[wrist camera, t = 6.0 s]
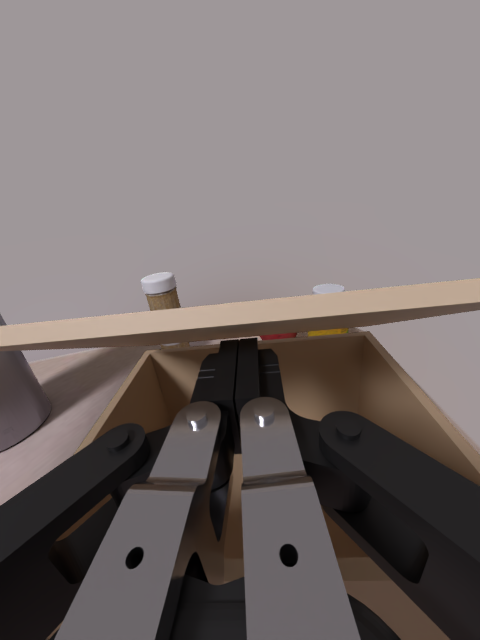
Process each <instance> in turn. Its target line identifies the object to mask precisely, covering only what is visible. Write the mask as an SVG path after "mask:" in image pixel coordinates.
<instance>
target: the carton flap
mask: <svg viewBox="0 0 480 640" xmlns="http://www.w3.org/2000/svg"><path fill="white" fill-rule="evenodd" d="M476 310H480V278H477V279H467V280H456V281H446V282H436V283H426V284H416V285H406V286H396V287H386V288H376V289H366V290H356V291H347V292H336V293H326V294H316V295H306V296H296V297H286V298H276V299H266V300H257V301H246V302H236V303H226V304H216V305H206V306H196V307H186V308H176V309H166V310H156V311H146V312H136V313H126V314H116V315H106V316H96V317H86V318H76V319H66V320H56V321H46V322H36V323H26V324H17V325H5V326H0V351H20V350H46V349H70V348H71V349H72V348H98V347H124V346H148V345H160V344H171V343H182V342H194V341H205V340H216V339H228V338H239V337H251V336H262V335H273V334H285V333H296V332H308V331H319V330H330V329H342V328H353V327H364V326H372V325H379V324H386V323H393V322H400V321H407V320H414V319H420V318H427V317H434V316H441V315H447V314H455V313H461V312H469V311H476Z"/></svg>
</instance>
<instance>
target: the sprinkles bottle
mask: <svg viewBox="0 0 480 640" xmlns="http://www.w3.org/2000/svg"><path fill="white" fill-rule="evenodd" d="M141 284H142V288H143V291H144V293H146V294H145V295H146V296H147V300H148V303H149V307H150V311H156V310H166V309H176V308H181V306H180V303H179V299H178V295H177V291H176V281H175V278H174V275H173V273H170V272H162V273H156V274H152V275H148V276H146V277H144V278H142V280H141ZM160 345H161V349H169V348H181V347H190V346H189V342H182V343H171V344H160Z"/></svg>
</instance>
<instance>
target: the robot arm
mask: <svg viewBox="0 0 480 640" xmlns="http://www.w3.org/2000/svg"><path fill="white" fill-rule="evenodd" d="M5 325H6V323H5V321H4V320H3V318H2V316H1V314H0V326H5ZM50 411H51V404H50V402H49V400H48V398H47V396H46V395H45V393H44V391H43V389H42V387H41V386H40V384H39V382H38V380H37V378H36V377H35V375H34V373H33V371H32V369H31V368H30V366H29V364H28V362H27V361H26V359H25V357H24V355H23V353H22V352H21V350H20V351H0V451H3V450H5V449H7V448H9V447H11V446H12V445H14V444H16V443H18V442H19V441H21V440H22V439H24V438H25V437H27V436H28V435H29V434H31V433H32V432H33V431H35V430H36V429H37V428H38V427H39V426H40V425H41V424H42V423H43V422H44V421H45V419H46V418H47V417H48V415H49V413H50ZM234 454H242V468H243V483H242V484H241V503H242V528H243V553H244V577H242V578H239V579H236V580H233V581H231V582H228V583H225V584H224V544H225V537H226V530H227V522H228V515H229V508H230V500H231V493H232V486H233V462H234ZM109 494H110V495H111V496H112V498H111V499H110V500H109V501H108V502H107V503H105V504H104V505H103V506H102V507H101V508H100V509H99V510H97V511H96V512H95V513H94V514H93V515H92V516H91V517H90V518H88V519H87V520H86V521H85V522H84V523H83V524H82V525H80V526H79V527H78V528H77V529H76V530H75V531H74V532H72V533H71V534H70V535H69V536H67V537H66V538H64V539H62V540H60V541H56V540H57V539H58V538H59V537H60V536H61V535H62V534H63V533H64V532H65V531H67V530H68V529H69V528H70V527H71V526H72V525H74V524H75V523H76V522H77V521H78V520H79V519H81V518H82V517H83V516H84V515H85V514H86V513H88V512H89V511H90V510H91V509H92V508H93V507H95V506H96V505H97V504H98V503H99V502H100V501H102V500H103V499H104V498H105V497H106V496H107V495H109ZM320 504H321V505H320ZM321 506H322V508H323V510H324V511H325V512H326V513H327V515H328V516H329V517H330V518H331V519H332V520H333V521H334V522H335V523H336V524H337V525H338V526H339V527H340V528H341V529H342V530H343V531H344V532H345V533H346V534H347V535H348V536H349V537H350V538H351V539H352V540H353V541H354V542H355V543H356V544H357V545H358V546H359V547H360V548H361V549H362V550H363V551H364V552H365V553H366V554H367V555H368V556H369V557H370V558H371V559H372V560H373V561H374V562H375V563H376V564H377V565H378V567H379V568H380V569H381V570H382V571H383V572H384V573H385V574H386V575H387V576H388V577H389V578H390V579H391V580H392V581H393V582H394V583H395V584H396V585H397V586H398V587H399V588H400V589H401V590H402V591H403V592H404V593H405V594H406V595H407V596H408V597H409V598H410V599H411V600H412V601H413V602H414V603H415V604H416V605H417V606H418V607H419V608H420V609H421V610H422V611H423V612H424V613H425V614H426V615H427V616H428V617H429V618H430V619H431V620H432V621H433V622H434V623H435V624H436V625H437V626H438V627H439V628H440V629H441V631H442V632H443V633H444V634H445V635H446V636H447V637H448V638H449V639H450V640H480V486H479V485H477V484H475V483H474V482H472V481H470V480H469V479H467V478H465V477H463V476H462V475H460V474H458V473H457V472H455V471H453V470H452V469H450V468H448V467H447V466H445V465H443V464H442V463H440V462H438V461H437V460H435V459H433V458H432V457H430V456H428V455H427V454H425V453H423V452H422V451H420V450H418V449H417V448H415V447H413V446H411V445H410V444H408V443H406V442H405V441H403V440H401V439H400V438H398V437H396V436H395V435H393V434H391V433H390V432H388V431H386V430H385V429H383V428H381V427H380V426H378V425H376V424H375V423H373V422H371V421H370V420H368V419H366V418H365V417H363V416H361V415H359V414H356V413H353V412H349V411H335V412H331V413H329V414H327V415H325V416H324V417H323V418H322V420H321V421H317V420H312V419H307V418H304V417H301V416H299V415H297V414H295V413H294V412H292V411H291V410H290V409H289V407H288V406H287V404H286V402H285V397H284V392H283V386H282V380H281V374H280V368H279V362H278V356H277V354H276V353H275V352H274V351H273V350H272V349H259V350H258V341H257V338H248V339H240V340H238V339H237V340H226V341H221V342H220V347H219V352H218V353H212V354H209V355H208V356H207V357H206V358H205V359H204V360H203V361H202V363H201V367H200V372H199V374H198V379H197V380H196V384H195V387H194V390H193V394H192V397H191V401H190V404H189V405H187V406H185V407H184V408H183V409H181V410H180V411H179V412H178V414H177V415H176V417H175V419H174V421H173V423H172V424H171V425H169V426H167V427H165V428H162V429H159V430H156V431H152V432H149V433H145V431H144V428H143V427H142V426H140V425H139V424H136V423H127V424H122V425H119V426H117V427H115V428H113V429H111V430H109V431H108V432H106V433H105V434H103V435H102V436H100V437H99V438H98V439H96V440H95V441H93V442H92V443H90V444H89V445H87V446H86V447H85V448H83V449H82V450H80V451H79V452H77V453H76V454H74V455H73V456H72V457H70V458H69V459H67V460H66V461H64V462H63V463H62V464H60V465H59V466H57V467H56V468H54V469H53V470H51V471H50V472H49V473H47V474H46V475H44V476H43V477H41V478H40V479H38V480H37V481H36V482H34V483H33V484H31V485H30V486H28V487H27V488H25V489H24V490H23V491H21V492H20V493H18V494H17V495H15V496H14V497H12V498H11V499H10V500H8V501H7V502H5V503H4V504H2V505H1V506H0V640H46V639H47V637H48V636H49V635H50V634H51V633H52V632H53V631H54V630H55V629H56V628H57V627H58V626H59V625H60V624H61V623H62V621H63V623H62V625H61V627H60V628H59V629H58V630H57V631H56V632H55V633H54V634H53V636H52V637H51V638H50V639H49V640H401V639H400V638H399V637H398V635H397V634H396V633H395V632H394V631H393V630H392V629H391V628H390V627H389V626H388V625H387V624H386V623H385V622H384V621H383V620H382V619H381V618H380V617H379V616H378V615H377V614H375V613H374V612H373V611H372V610H371V609H369V608H368V607H367V606H366V605H365V604H363V603H362V602H360V601H359V600H357V599H356V598H354V597H353V596H351V595H349V594H348V593H347V592H346V589H345V586H344V582H343V579H342V576H341V572H340V569H339V566H338V562H337V559H336V556H335V552H334V549H333V546H332V542H331V539H330V535H329V532H328V529H327V525H326V522H325V519H324V515H323V512H322V509H321Z"/></svg>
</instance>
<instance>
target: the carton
mask: <svg viewBox="0 0 480 640" xmlns="http://www.w3.org/2000/svg"><path fill="white" fill-rule="evenodd" d="M219 347H220V344H216V345H204V346H193V347H181V348H169V349H158V350H146V351H145V352H144V354H143V355H142V357H141V358H140V360H139V361H138V363H137V364H136V365H135V367H134V368H133V370H132V371H131V373H130V374H129V375H128V377H127V378H126V380H125V381H124V383H123V384H122V386H121V387H120V388H119V390H118V391H117V393H116V394H115V396H114V397H113V399H112V400H111V401H110V403H109V404H108V406H107V407H106V409H105V410H104V412H103V413H102V414H101V416H100V417H99V419H98V420H97V422H96V423H95V425H94V426H93V427H92V429H91V430H90V432H89V433H88V435H87V436H86V437H85V439H84V440H83V442H82V443H81V445H80V446H79V448H78V449H77V450H76V452H75V453H74V454H76V453H77V452H79V451H80V450H82V449H83V448H85V447H86V446H87V445H89V444H90V443H92V442H93V441H95V440H96V439H98V438H99V437H100V436H102V435H103V434H105V433H106V432H108V431H109V430H111V429H113V428H115V427H117V426H119V425H122V424H127V423H136V424H139V425H140V426H142V427H143V428H144V431H145V433H149V432H152V431H156V430H159V429H162V428H165V427H167V426H169V425H171V424H172V423H173V421H174V419H175V417H176V415H177V414H178V412H179V411H180V410H181V409H183V408H184V407H185V406H187V405H189V404H190V401H191V397H192V394H193V390H194V387H195V384H196V380H197V379H198V374H199V372H200V367H201V363H202V361H203V360H204V359H205V358H206V357H207V356H208V355H209V354H212V353H218V352H219ZM259 349H272V350H273V351H274V352H275V353H276V354H277V356H278V362H279V368H280V374H281V380H282V386H283V392H284V397H285V402H286V404H287V406H288V407H289V409H290V410H291V411H292V412H294V413H295V414H297V415H299V416H301V417H304V418H307V419H312V420H317V421H321V420H322V418H323V417H324V416H325V415H327V414H329V413H331V412H335V411H349V412H353V413H356V414H359V415H361V416H363V417H365V418H366V419H368V420H370V421H371V422H373V423H375V424H376V425H378V426H380V427H381V428H383V429H385V430H386V431H388V432H390V433H391V434H393V435H395V436H396V437H398V438H400V439H401V440H403V441H405V442H406V443H408V444H410V445H411V446H413V447H415V448H417V449H418V450H420V451H422V452H423V453H425V454H427V455H428V456H430V457H432V458H433V459H435V460H437V461H438V462H440V463H442V464H443V465H445V466H447V467H448V468H450V469H452V470H453V471H455V472H457V473H458V474H460V475H462V476H463V477H465V478H467V479H469V480H470V481H472V482H474V483H475V484H477V485H479V486H480V455H479V454H478V453H477V452H476V451H475V450H474V449H473V447H472V446H471V445H470V444H469V443H468V442H467V441H466V440H465V438H464V437H463V436H462V435H461V434H460V433H459V432H458V431H457V429H456V428H455V427H454V426H453V425H452V424H451V423H450V422H449V420H448V419H447V418H446V417H445V416H444V415H443V414H442V413H441V411H440V410H439V409H438V408H437V407H436V406H435V405H434V404H433V402H432V401H431V400H430V399H429V398H428V397H427V396H426V395H425V393H424V392H423V391H422V390H421V389H420V388H419V387H418V386H417V384H416V383H415V382H414V381H413V380H412V379H411V378H410V377H409V375H408V374H407V373H406V372H405V371H404V370H403V369H402V368H401V366H400V365H399V364H398V363H397V362H396V361H395V360H394V359H393V357H392V356H391V355H390V354H389V353H388V352H387V351H386V350H385V348H384V347H383V346H382V345H381V344H380V343H379V342H378V341H377V339H376V338H375V337H374V336H373V335H372V334H371V333H370V332H369V331H367V332H355V333H343V334H332V335H320V336H309V337H297V338H285V339H274V340H262V341H258V350H259ZM242 483H243V468H242V454H234V462H233V486H232V493H231V500H230V508H229V515H228V522H227V530H226V537H225V544H224V584H225V583H228V582H231V581H233V580H236V579H239V578H242V577H244V553H243V528H242V503H241V484H242ZM111 498H112V496H111V495H110V494H109V495H107V496H106V497H105V498H104V499H103V500H102V501H100V502H99V503H98V504H97V505H96V506H95V507H93V508H92V509H91V510H90V511H89V512H88V513H86V514H85V515H84V516H83V517H82V518H81V519H79V520H78V521H77V522H76V523H75V524H74V525H72V526H71V527H70V528H69V529H68V530H67V531H65V532H64V533H63V534H62V535H61V536H60V537H59V538H58V539H57V540H56V541H60V540H62V539H64V538H66V537H67V536H69V535H70V534H71V533H72V532H74V531H75V530H76V529H77V528H78V527H79V526H80V525H82V524H83V523H84V522H85V521H86V520H87V519H88V518H90V517H91V516H92V515H93V514H94V513H95V512H96V511H97V510H99V509H100V508H101V507H102V506H103V505H104V504H105V503H107V502H108V501H109V500H110V499H111ZM320 505H321V504H320ZM321 509H322V512H323V515H324V519H325V522H326V525H327V529H328V532H329V535H330V539H331V542H332V546H333V549H334V552H335V556H336V559H337V562H338V566H339V569H340V572H341V576H342V579H343V582H344V586H345V589H346V592H347V593H348V594H349V595H351V596H353V597H354V598H356V599H357V600H359V601H360V602H362V603H363V604H365V605H366V606H367V607H368V608H369V609H371V610H372V611H373V612H374V613H375V614H377V615H378V616H379V617H380V618H381V619H382V620H383V621H384V622H385V623H386V624H387V625H388V626H389V627H390V628H391V629H392V630H393V631H394V632H395V633H396V634H397V635H398V637H399V638H400V639H401V640H450V639H449V638H448V637H447V636H446V635H445V634H444V633H443V632H442V631H441V629H440V628H439V627H438V626H437V625H436V624H435V623H434V622H433V621H432V620H431V619H430V618H429V617H428V616H427V615H426V614H425V613H424V612H423V611H422V610H421V609H420V608H419V607H418V606H417V605H416V604H415V603H414V602H413V601H412V600H411V599H410V598H409V597H408V596H407V595H406V594H405V593H404V592H403V591H402V590H401V589H400V588H399V587H398V586H397V585H396V584H395V583H394V582H393V581H392V580H391V579H390V578H389V577H388V576H387V575H386V574H385V573H384V572H383V571H382V570H381V569H380V568H379V567H378V565H377V564H376V563H375V562H374V561H373V560H372V559H371V558H370V557H369V556H368V555H367V554H366V553H365V552H364V551H363V550H362V549H361V548H360V547H359V546H358V545H357V544H356V543H355V542H354V541H353V540H352V539H351V538H350V537H349V536H348V535H347V534H346V533H345V532H344V531H343V530H342V529H341V528H340V527H339V526H338V525H337V524H336V523H335V522H334V521H333V520H332V519H331V518H330V517H329V516H328V515H327V513H326V512H325V511H324V510H323V508H322V506H321ZM62 623H63V621H62ZM62 623H61V624H60V625H59V626H58V627H57V628H56V629H55V630H54V631H53V632H52V633H51V634H50V635H49V636H48V637H47V638H48V639H50V638H51V637H52V636H53V634H54V633H55V632H56V631H57V630H58V629H59V628H60V627H61V625H62Z"/></svg>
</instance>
